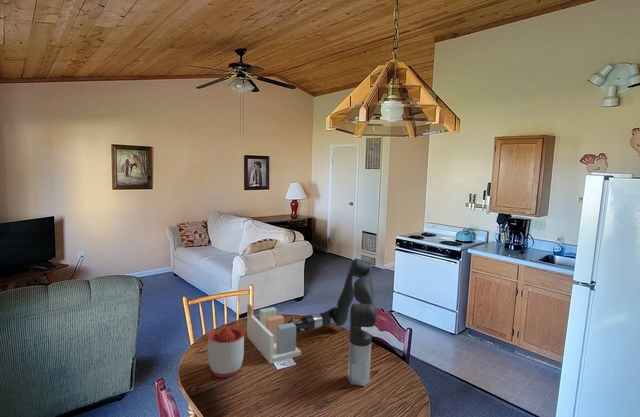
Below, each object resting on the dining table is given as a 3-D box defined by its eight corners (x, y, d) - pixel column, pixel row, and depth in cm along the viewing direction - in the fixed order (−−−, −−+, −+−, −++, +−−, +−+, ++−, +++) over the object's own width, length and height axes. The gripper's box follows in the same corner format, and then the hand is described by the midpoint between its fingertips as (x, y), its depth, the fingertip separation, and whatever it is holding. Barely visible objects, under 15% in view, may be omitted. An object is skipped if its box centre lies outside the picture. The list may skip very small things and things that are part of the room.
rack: (275, 330, 204) (275, 298, 202) (300, 355, 178) (302, 319, 176) (247, 336, 196) (247, 303, 194) (269, 363, 170) (270, 325, 168)
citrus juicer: (232, 356, 175) (232, 315, 173) (250, 372, 162) (251, 328, 160) (200, 366, 165) (199, 323, 163) (216, 385, 152) (216, 338, 150)
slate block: (291, 345, 182) (292, 322, 181) (295, 349, 179) (296, 325, 177) (276, 349, 178) (277, 325, 177) (280, 353, 175) (280, 329, 173)
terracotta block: (280, 337, 191) (280, 314, 190) (283, 340, 188) (284, 317, 186) (265, 340, 187) (265, 317, 186) (269, 344, 183) (269, 320, 182)
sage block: (273, 328, 201) (273, 306, 200) (276, 331, 197) (277, 309, 196) (259, 331, 197) (259, 309, 196) (262, 334, 193) (262, 312, 192)
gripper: (306, 310, 203) (276, 316, 194) (318, 319, 192) (288, 326, 183) (305, 323, 204) (276, 330, 195) (318, 333, 192) (287, 340, 184)
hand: (282, 328), depth 189 cm, fingers closed
